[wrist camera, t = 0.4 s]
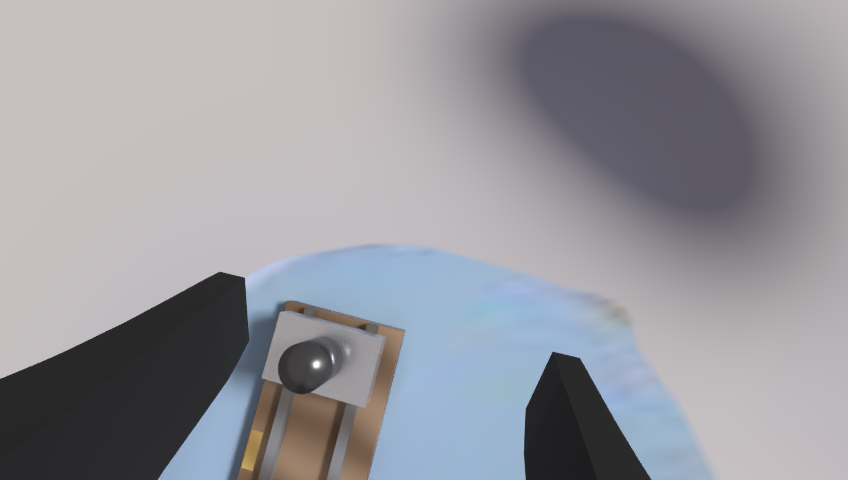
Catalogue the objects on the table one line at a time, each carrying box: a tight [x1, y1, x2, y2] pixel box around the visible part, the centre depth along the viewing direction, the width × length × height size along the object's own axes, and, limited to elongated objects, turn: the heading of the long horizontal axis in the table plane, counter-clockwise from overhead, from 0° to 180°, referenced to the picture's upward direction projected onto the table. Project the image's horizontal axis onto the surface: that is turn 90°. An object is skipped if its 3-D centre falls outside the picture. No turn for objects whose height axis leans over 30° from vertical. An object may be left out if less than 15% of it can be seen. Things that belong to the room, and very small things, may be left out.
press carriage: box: [262, 311, 387, 408], centre depth 31 cm, size 5×8×6 cm, turn 76°
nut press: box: [237, 301, 405, 480], centre depth 33 cm, size 19×10×6 cm, turn 166°
